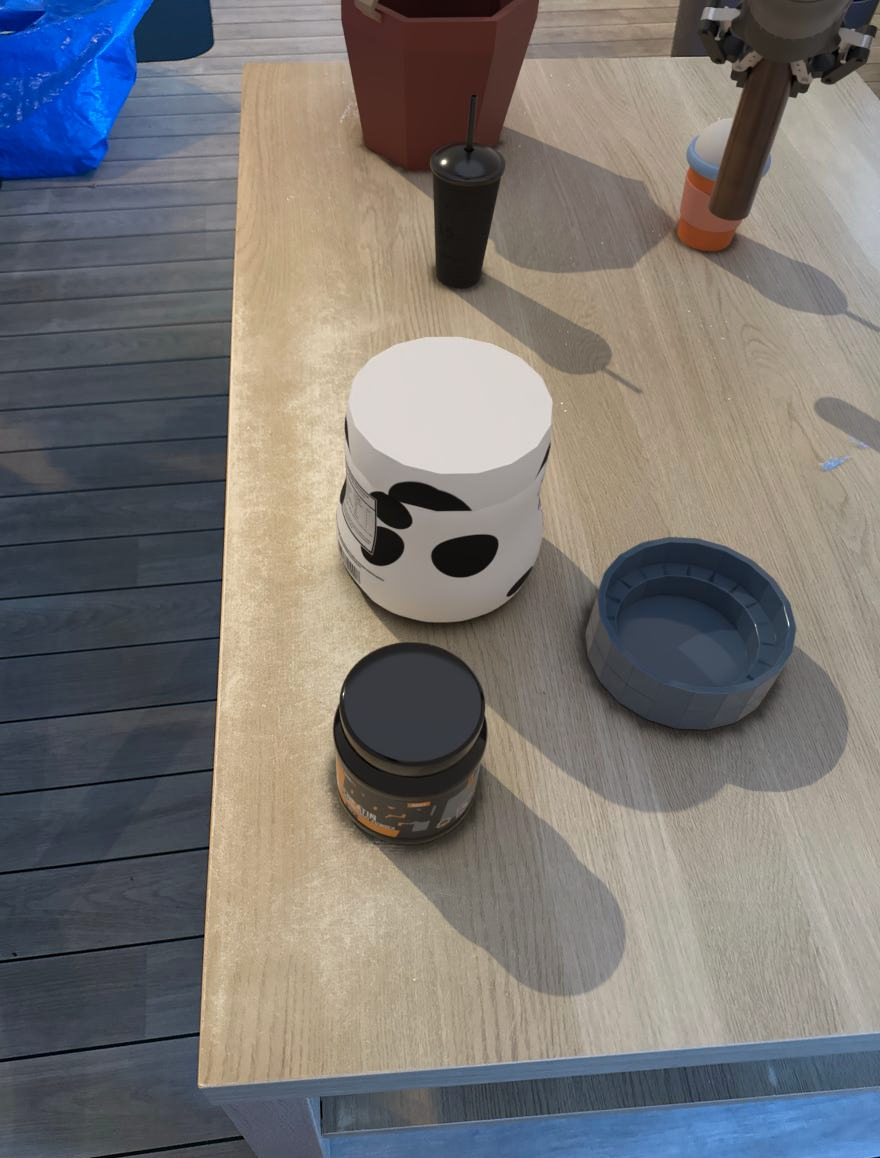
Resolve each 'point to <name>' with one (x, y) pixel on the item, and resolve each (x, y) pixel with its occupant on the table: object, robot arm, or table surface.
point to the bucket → (433, 70)
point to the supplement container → (409, 742)
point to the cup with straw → (706, 191)
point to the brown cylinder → (751, 139)
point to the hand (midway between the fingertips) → (768, 80)
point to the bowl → (689, 632)
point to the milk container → (443, 478)
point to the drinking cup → (464, 205)
